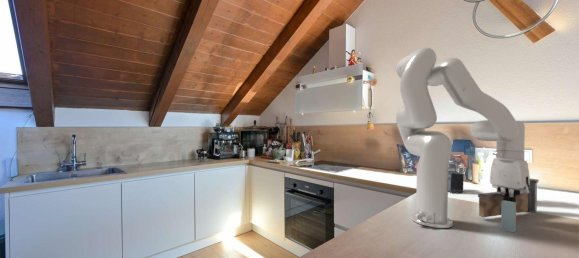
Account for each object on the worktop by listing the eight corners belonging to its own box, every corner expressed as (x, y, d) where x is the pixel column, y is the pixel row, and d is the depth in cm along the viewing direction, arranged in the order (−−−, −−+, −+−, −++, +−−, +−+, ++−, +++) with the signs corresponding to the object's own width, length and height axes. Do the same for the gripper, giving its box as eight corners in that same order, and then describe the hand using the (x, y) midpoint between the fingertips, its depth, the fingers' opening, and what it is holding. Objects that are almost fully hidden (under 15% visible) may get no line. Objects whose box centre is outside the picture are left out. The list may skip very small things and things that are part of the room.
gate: (483, 218, 89) (483, 195, 89) (477, 216, 91) (477, 193, 91) (532, 212, 97) (532, 190, 97) (526, 210, 99) (526, 189, 99)
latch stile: (513, 232, 79) (513, 203, 79) (501, 229, 81) (501, 201, 81) (515, 230, 81) (515, 202, 81) (503, 227, 83) (504, 200, 83)
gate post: (536, 214, 97) (536, 180, 97) (520, 211, 101) (521, 178, 101) (538, 212, 100) (538, 179, 100) (523, 209, 103) (523, 177, 104)
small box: (464, 194, 128) (464, 173, 128) (450, 193, 129) (450, 173, 129) (455, 189, 138) (455, 170, 138) (442, 188, 140) (442, 169, 140)
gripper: (480, 153, 95) (480, 202, 95) (529, 158, 81) (528, 214, 81) (493, 153, 98) (493, 200, 98) (543, 157, 84) (542, 212, 83)
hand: (509, 207), depth 89 cm, fingers closed
